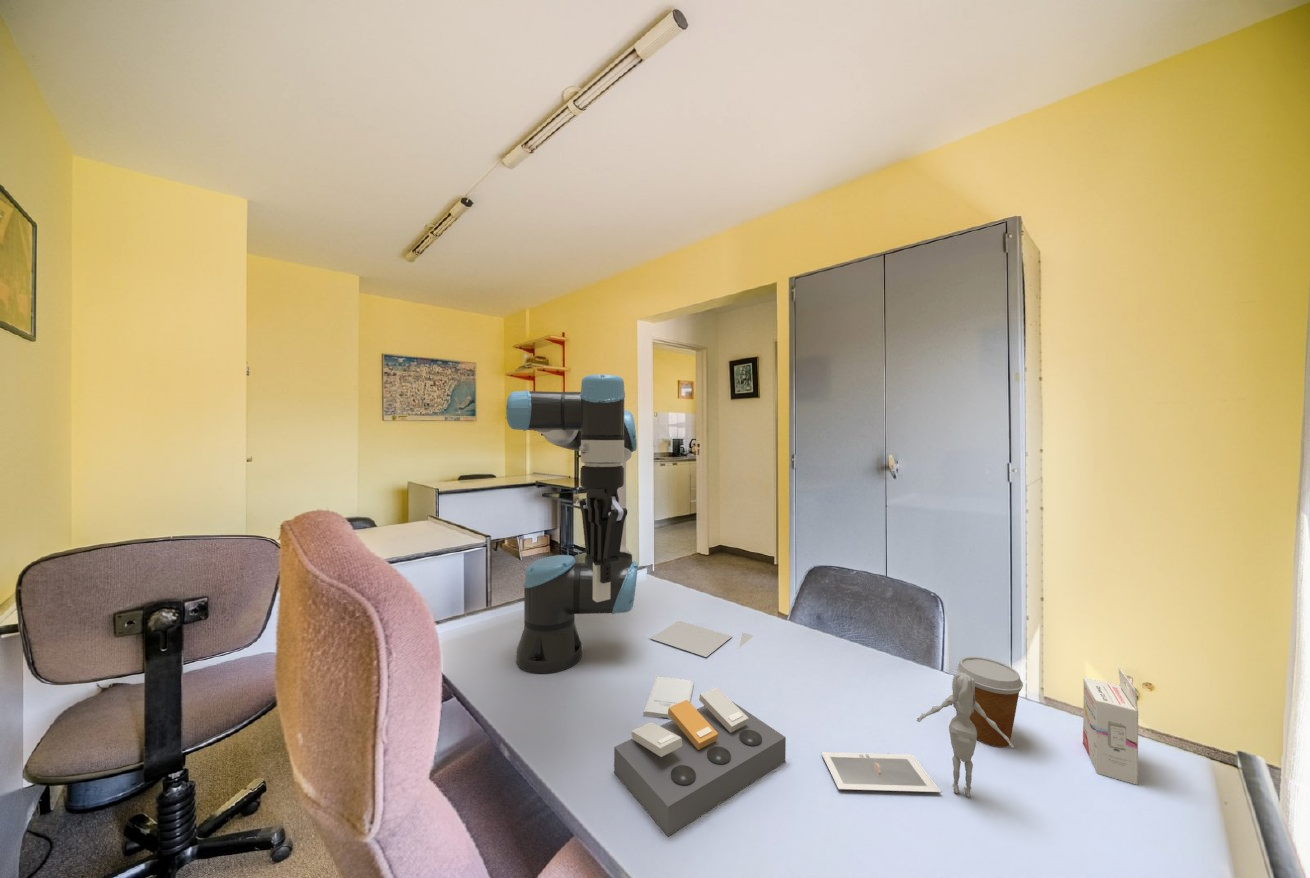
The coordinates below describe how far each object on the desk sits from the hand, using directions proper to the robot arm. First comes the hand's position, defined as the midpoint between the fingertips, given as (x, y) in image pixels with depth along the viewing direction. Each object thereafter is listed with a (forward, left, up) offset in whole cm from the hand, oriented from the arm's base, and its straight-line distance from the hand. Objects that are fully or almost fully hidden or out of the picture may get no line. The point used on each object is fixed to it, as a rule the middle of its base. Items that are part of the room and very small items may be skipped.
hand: (601, 599), depth 79 cm
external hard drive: (-2, +17, -25) cm, 30 cm away
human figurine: (+42, +38, -25) cm, 62 cm away
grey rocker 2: (+13, +17, -20) cm, 29 cm away
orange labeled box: (+13, +10, -20) cm, 25 cm away
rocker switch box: (+15, +10, -24) cm, 30 cm away
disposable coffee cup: (+39, +57, -25) cm, 73 cm away
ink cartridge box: (+53, +65, -25) cm, 87 cm away
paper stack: (-18, +44, -25) cm, 54 cm away
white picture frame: (+33, +31, -25) cm, 52 cm away
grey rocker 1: (+13, +3, -20) cm, 24 cm away
